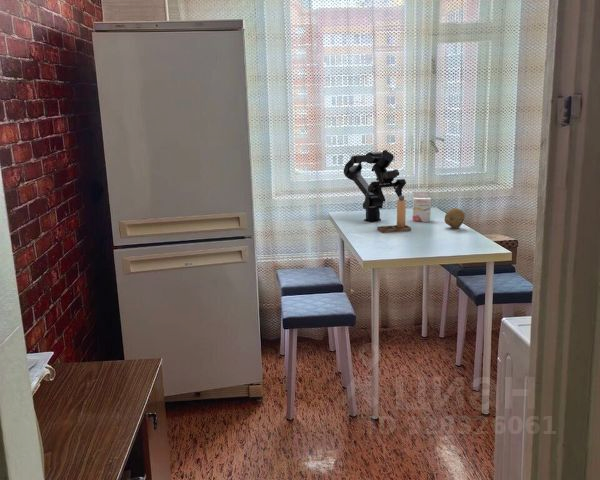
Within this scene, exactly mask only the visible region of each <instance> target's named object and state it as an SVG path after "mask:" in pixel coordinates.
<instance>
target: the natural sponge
mask: <svg viewBox="0 0 600 480" xmlns="http://www.w3.org/2000/svg"><path fill="white" fill-rule="evenodd" d="M465 215H466V214H465V213H464V212H463V210H462V209H460V208H456V207H455V208H454V207H453V208H451V209H449V210H447V212H446V213H445V215H444V223H445V224H446V225H448V226H449V227H451V229H455V230H457V229H459V228H460V227H461V226H462V225H463V223H464V221H465Z"/></svg>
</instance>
